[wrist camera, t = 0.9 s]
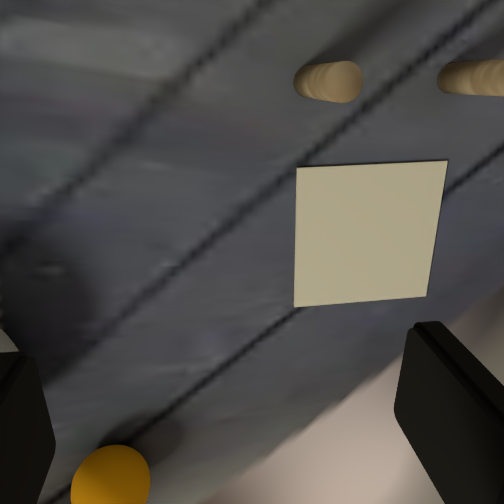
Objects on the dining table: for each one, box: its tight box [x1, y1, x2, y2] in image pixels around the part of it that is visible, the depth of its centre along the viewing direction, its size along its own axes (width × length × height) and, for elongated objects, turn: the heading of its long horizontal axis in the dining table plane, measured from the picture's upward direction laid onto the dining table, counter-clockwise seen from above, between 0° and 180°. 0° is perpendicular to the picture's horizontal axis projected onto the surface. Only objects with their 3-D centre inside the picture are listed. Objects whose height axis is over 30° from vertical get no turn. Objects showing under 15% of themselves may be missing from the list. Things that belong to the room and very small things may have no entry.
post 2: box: [437, 59, 504, 96], centre depth 31 cm, size 2×2×9 cm
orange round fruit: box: [71, 445, 151, 504], centre depth 43 cm, size 8×8×8 cm
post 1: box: [294, 61, 363, 103], centre depth 30 cm, size 2×2×9 cm
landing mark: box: [294, 161, 448, 307], centre depth 40 cm, size 14×14×1 cm
